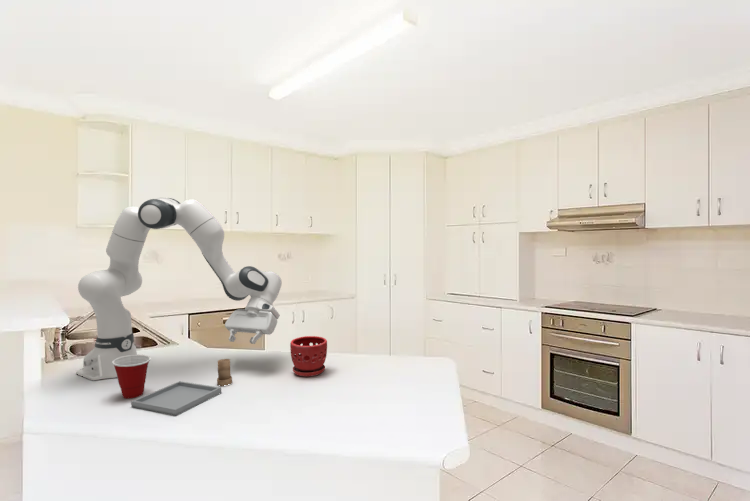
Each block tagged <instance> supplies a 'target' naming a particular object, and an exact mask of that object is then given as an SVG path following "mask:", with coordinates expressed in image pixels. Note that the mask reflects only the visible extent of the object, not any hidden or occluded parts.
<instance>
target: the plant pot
mask: <svg viewBox="0 0 750 501" xmlns="http://www.w3.org/2000/svg"><path fill="white" fill-rule="evenodd" d="M310 344H312V345H310ZM289 346H290V349H289V350H290V357H291V361H292V364H293V367H292V371H293V373H294V374H295V375H297V376H301V377H306V378H307V377H308V378H309V377H314V376H315V377H316V376H319V375H320V374H322V373H323V372H324V371H325V370H326V365H325V362H326V358H327V355H328V354H327V353H328V340H327V339H326V338H325V337H323V336H315V335H308V336H307V335H305V336H300V337H295V338H293V339H292V340H291V341H290V344H289Z"/></svg>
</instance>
